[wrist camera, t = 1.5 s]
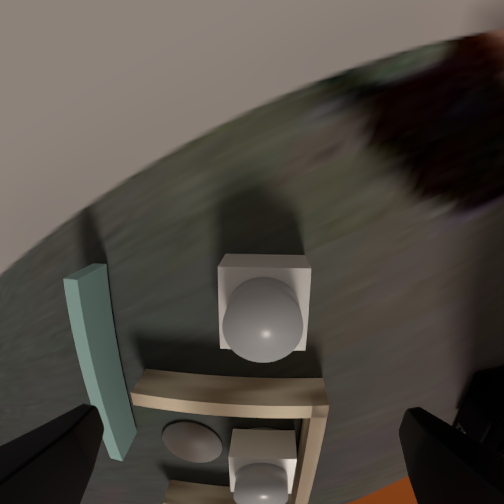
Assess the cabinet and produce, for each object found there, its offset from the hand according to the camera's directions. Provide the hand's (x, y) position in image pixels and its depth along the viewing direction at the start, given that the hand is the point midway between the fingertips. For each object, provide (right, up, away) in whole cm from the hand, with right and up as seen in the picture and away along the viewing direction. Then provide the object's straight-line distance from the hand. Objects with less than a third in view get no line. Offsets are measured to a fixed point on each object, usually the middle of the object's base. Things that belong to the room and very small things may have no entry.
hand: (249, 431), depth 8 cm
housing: (-1, -10, +14) cm, 17 cm away
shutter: (-10, -3, +13) cm, 16 cm away
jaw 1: (+1, +3, +11) cm, 12 cm away
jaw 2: (+1, -10, +14) cm, 17 cm away
